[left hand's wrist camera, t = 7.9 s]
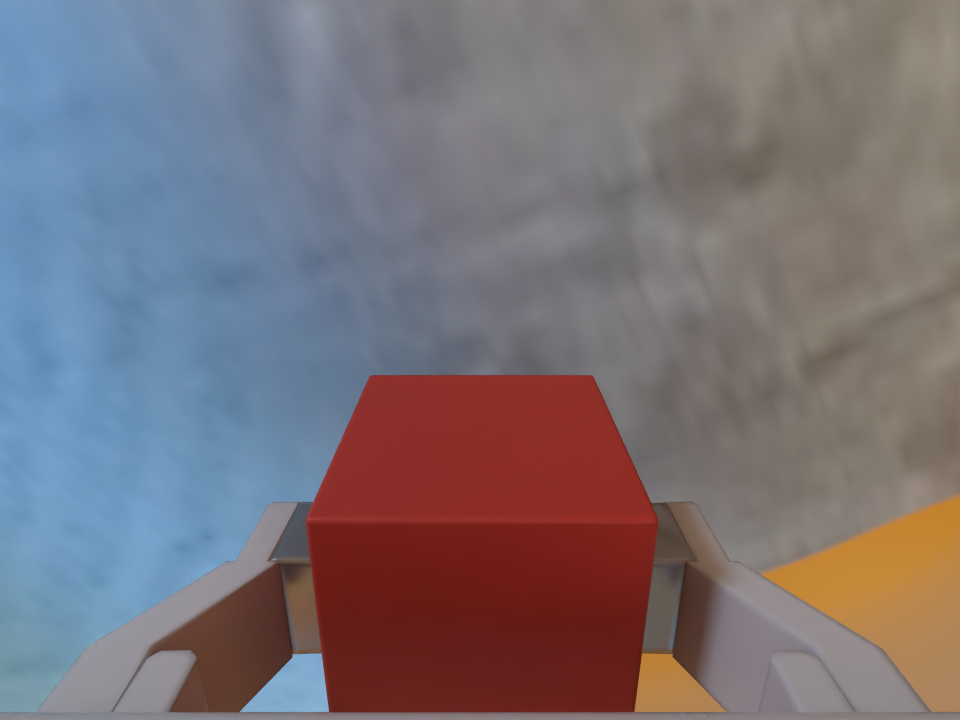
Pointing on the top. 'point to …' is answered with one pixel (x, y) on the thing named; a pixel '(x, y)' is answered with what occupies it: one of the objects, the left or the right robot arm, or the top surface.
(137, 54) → the top surface
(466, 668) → the block
